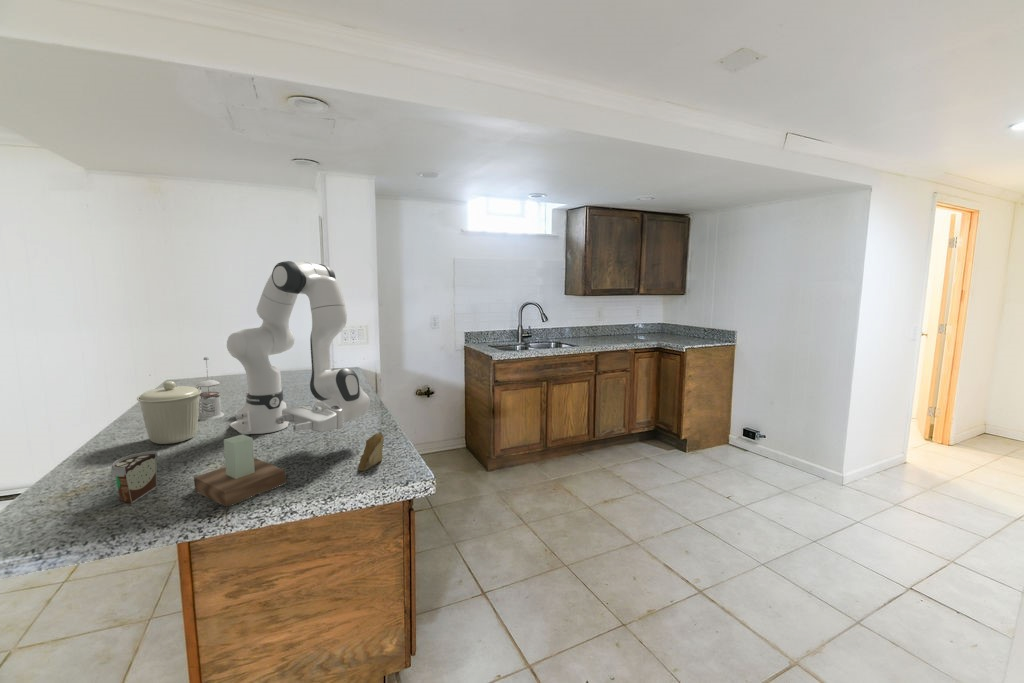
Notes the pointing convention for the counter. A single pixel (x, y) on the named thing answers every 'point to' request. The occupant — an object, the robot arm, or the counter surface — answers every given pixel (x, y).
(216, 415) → the french press
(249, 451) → the sage block
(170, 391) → the canister
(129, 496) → the food container
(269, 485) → the walnut base
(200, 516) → the counter surface
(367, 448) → the rock
